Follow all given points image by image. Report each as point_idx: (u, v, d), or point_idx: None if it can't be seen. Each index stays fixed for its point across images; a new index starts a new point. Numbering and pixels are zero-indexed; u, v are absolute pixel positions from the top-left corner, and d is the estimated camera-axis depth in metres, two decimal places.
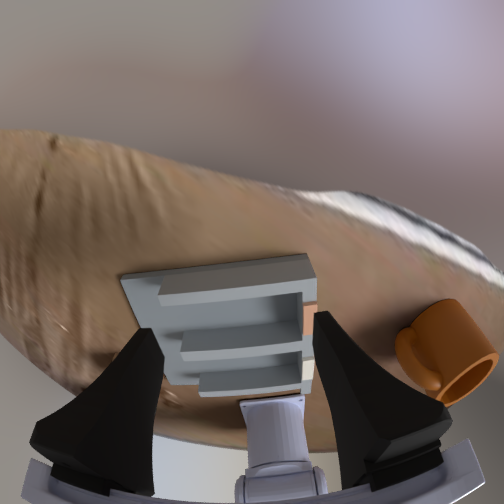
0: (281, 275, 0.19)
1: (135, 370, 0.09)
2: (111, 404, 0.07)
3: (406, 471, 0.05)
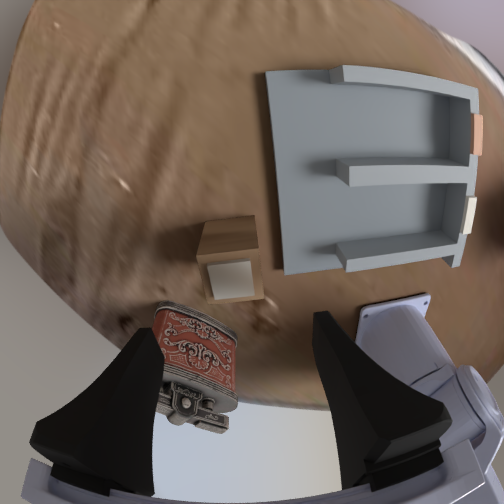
0: None
1: (135, 370, 0.09)
2: (111, 404, 0.07)
3: (406, 471, 0.05)
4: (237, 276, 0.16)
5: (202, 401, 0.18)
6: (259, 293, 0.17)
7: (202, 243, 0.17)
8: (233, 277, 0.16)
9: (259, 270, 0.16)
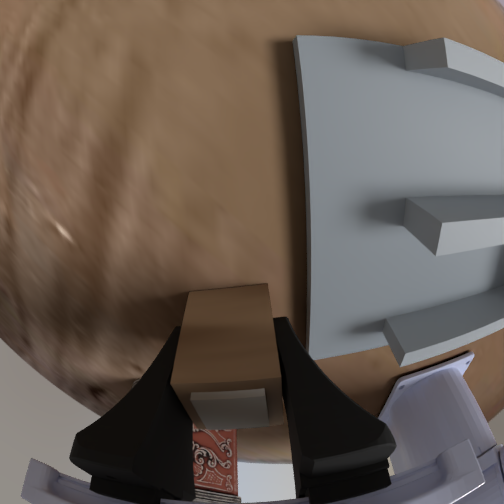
0: None
1: None
2: (160, 408, 0.07)
3: (347, 490, 0.05)
4: (242, 411, 0.08)
5: None
6: (276, 420, 0.09)
7: (181, 350, 0.09)
8: (236, 412, 0.08)
9: (279, 400, 0.09)
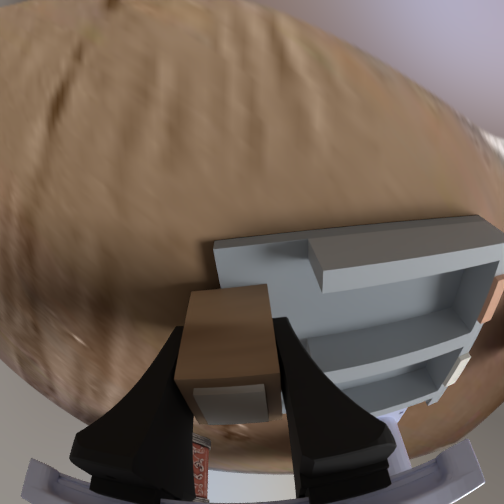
0: (480, 237, 0.10)
1: None
2: (160, 408, 0.07)
3: (347, 490, 0.05)
4: (243, 406, 0.09)
5: None
6: (276, 415, 0.10)
7: (184, 348, 0.10)
8: (237, 407, 0.09)
9: (278, 395, 0.09)
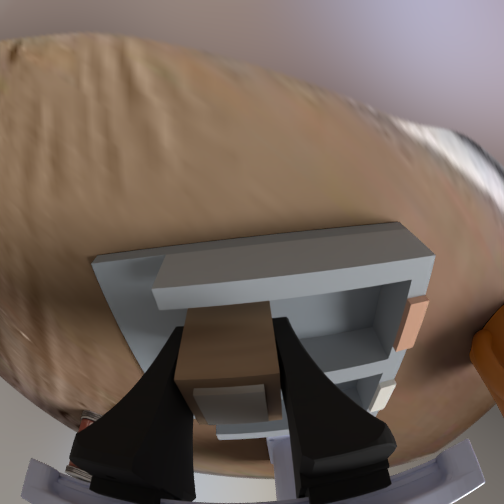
0: (380, 251, 0.10)
1: None
2: (160, 408, 0.07)
3: (347, 490, 0.05)
4: (243, 406, 0.09)
5: None
6: (275, 416, 0.10)
7: (184, 348, 0.10)
8: (237, 407, 0.09)
9: (278, 395, 0.09)
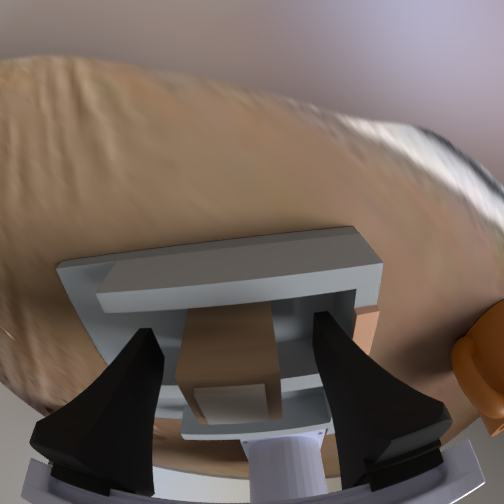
0: (319, 259, 0.10)
1: (135, 370, 0.09)
2: (111, 404, 0.07)
3: (406, 471, 0.05)
4: (243, 406, 0.09)
5: None
6: (276, 415, 0.10)
7: (185, 347, 0.10)
8: (237, 407, 0.09)
9: (278, 395, 0.09)
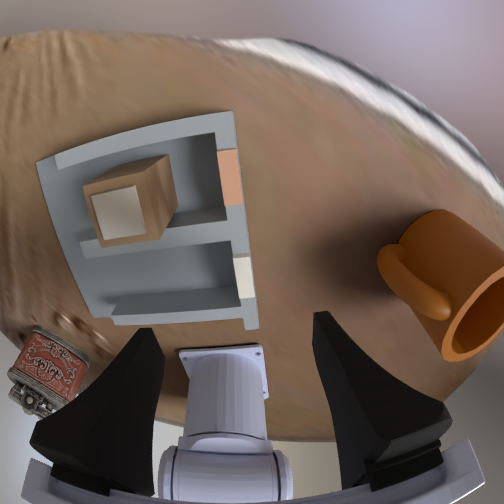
0: None
1: (135, 370, 0.09)
2: (111, 404, 0.07)
3: (406, 471, 0.05)
4: (122, 207, 0.12)
5: (47, 402, 0.19)
6: (152, 232, 0.13)
7: (97, 177, 0.13)
8: (118, 210, 0.12)
9: (147, 200, 0.12)
